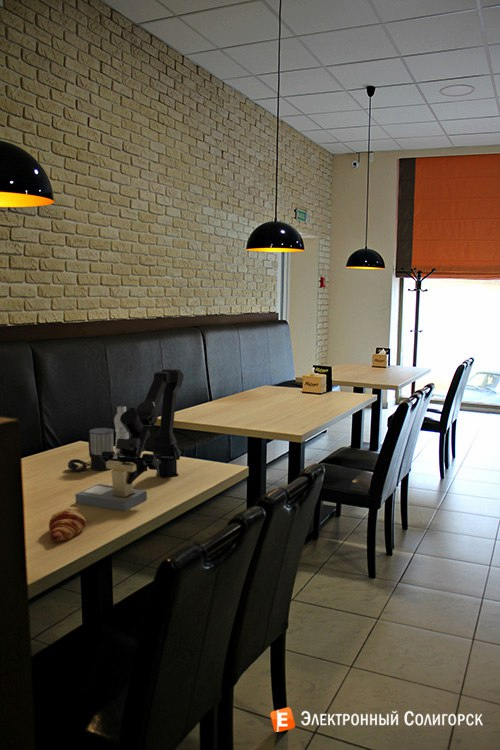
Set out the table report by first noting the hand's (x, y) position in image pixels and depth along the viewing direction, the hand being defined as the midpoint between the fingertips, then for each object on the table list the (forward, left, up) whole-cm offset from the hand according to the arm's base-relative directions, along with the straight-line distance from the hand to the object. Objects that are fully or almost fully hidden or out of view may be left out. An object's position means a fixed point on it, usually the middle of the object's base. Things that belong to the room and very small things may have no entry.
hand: (121, 483), depth 204 cm
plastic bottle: (-20, -63, -7) cm, 67 cm away
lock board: (+2, -5, -7) cm, 9 cm away
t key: (-1, -1, -7) cm, 7 cm away
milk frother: (-3, -47, -7) cm, 48 cm away
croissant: (+20, +15, -8) cm, 26 cm away
